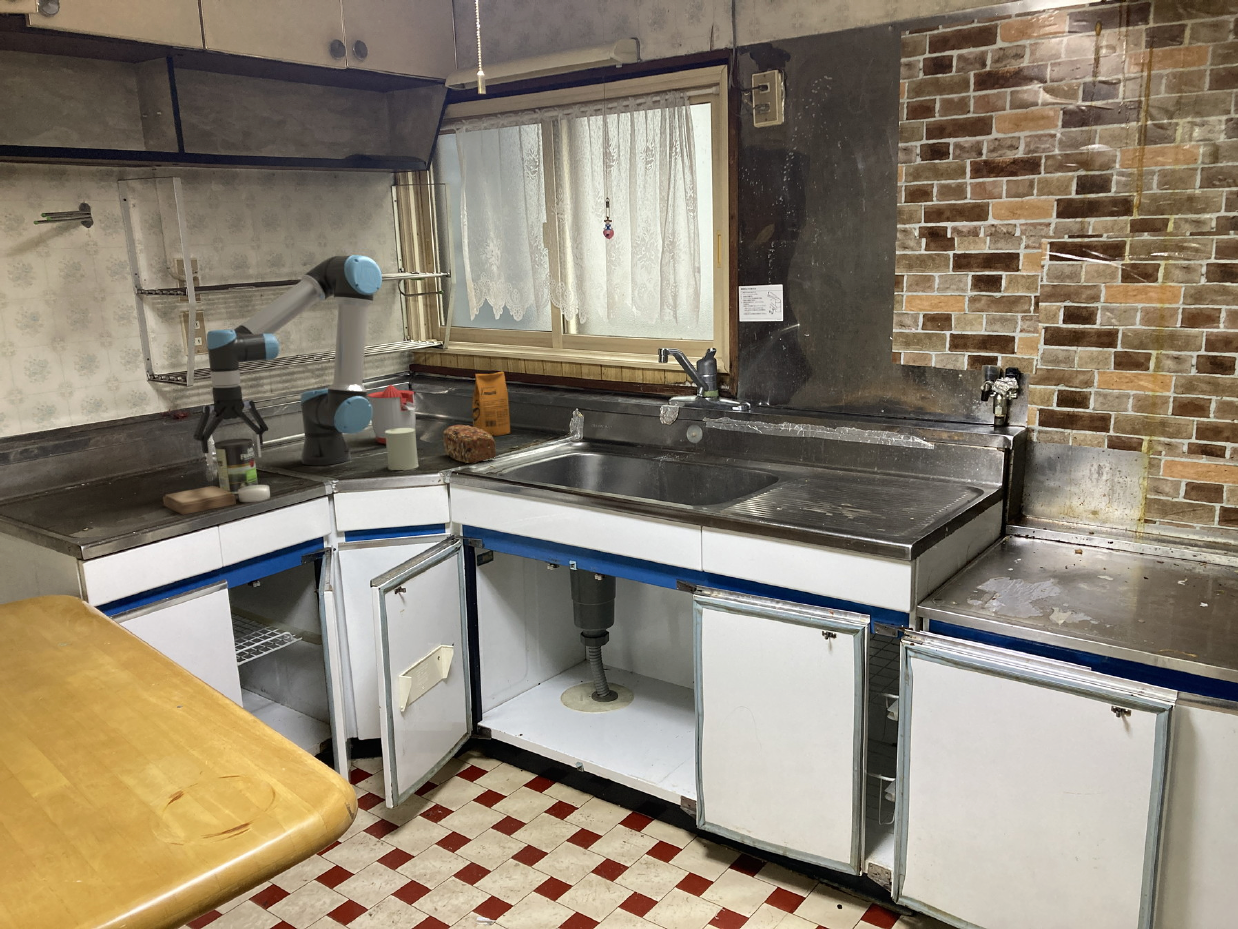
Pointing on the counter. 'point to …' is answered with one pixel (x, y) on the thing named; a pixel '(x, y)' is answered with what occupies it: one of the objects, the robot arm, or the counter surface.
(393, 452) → the pale green cylinder
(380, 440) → the citrus juicer
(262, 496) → the white rounded flat block
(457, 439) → the bread
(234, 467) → the coffee can
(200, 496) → the plinth
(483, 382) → the coffee package
